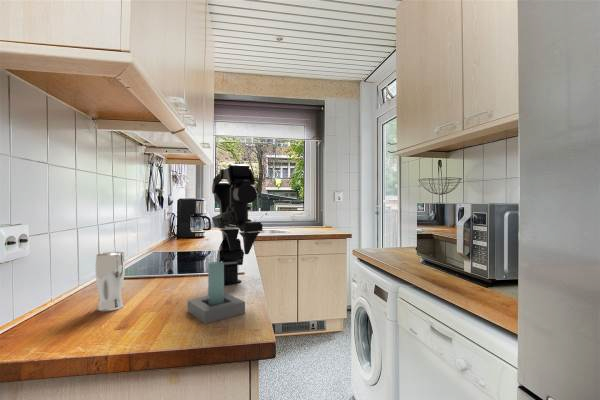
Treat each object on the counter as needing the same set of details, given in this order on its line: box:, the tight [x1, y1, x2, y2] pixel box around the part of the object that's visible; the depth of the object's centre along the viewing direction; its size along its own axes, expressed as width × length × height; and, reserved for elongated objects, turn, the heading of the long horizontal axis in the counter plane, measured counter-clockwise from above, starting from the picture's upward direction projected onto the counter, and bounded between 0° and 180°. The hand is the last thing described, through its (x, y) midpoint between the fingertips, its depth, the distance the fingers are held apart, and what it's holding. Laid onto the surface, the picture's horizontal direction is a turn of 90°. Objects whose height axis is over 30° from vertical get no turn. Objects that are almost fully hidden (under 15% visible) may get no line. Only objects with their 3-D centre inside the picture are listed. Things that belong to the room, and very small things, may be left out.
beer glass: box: [95, 251, 126, 313], centre depth 88 cm, size 7×7×15 cm
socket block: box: [187, 292, 246, 325], centre depth 84 cm, size 11×11×3 cm
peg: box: [207, 261, 225, 306], centre depth 84 cm, size 4×4×13 cm
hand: (239, 252), depth 102 cm, fingers open, 9 cm apart
